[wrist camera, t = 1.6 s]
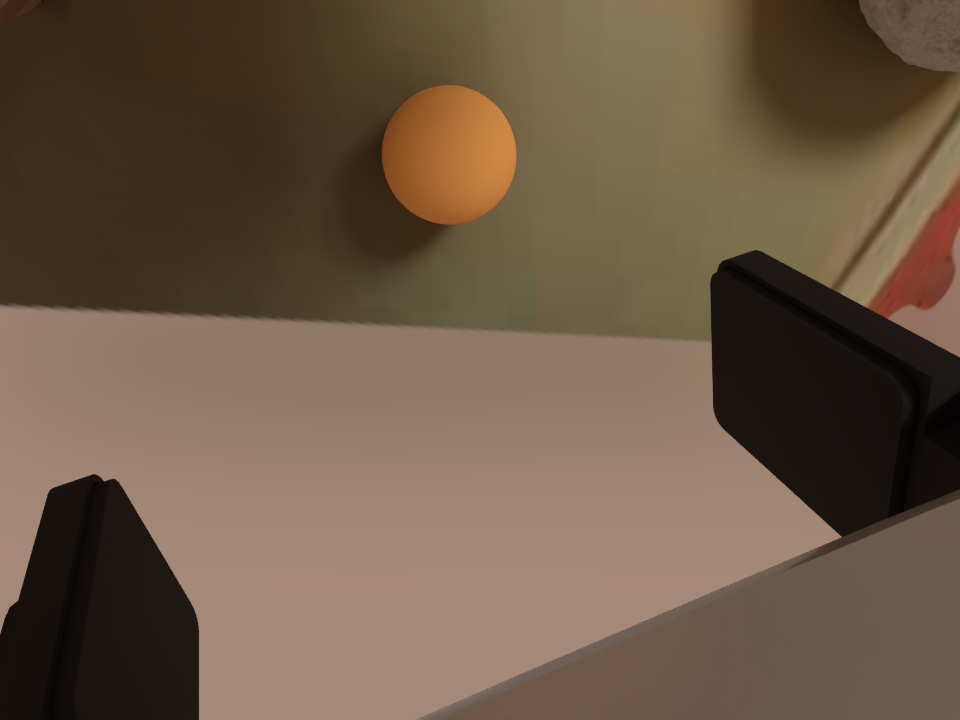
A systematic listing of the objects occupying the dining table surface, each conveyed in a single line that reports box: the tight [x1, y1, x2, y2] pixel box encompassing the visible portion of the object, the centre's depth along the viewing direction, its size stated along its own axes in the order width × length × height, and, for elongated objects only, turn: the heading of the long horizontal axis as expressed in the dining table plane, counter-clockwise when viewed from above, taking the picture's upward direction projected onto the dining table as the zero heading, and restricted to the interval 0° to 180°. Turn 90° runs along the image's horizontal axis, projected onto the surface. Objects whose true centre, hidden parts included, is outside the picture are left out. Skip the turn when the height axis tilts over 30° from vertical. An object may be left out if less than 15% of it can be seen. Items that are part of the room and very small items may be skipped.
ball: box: [382, 85, 516, 224], centre depth 33 cm, size 6×6×6 cm
